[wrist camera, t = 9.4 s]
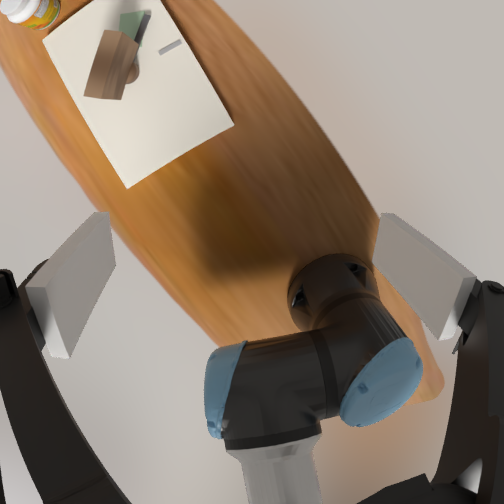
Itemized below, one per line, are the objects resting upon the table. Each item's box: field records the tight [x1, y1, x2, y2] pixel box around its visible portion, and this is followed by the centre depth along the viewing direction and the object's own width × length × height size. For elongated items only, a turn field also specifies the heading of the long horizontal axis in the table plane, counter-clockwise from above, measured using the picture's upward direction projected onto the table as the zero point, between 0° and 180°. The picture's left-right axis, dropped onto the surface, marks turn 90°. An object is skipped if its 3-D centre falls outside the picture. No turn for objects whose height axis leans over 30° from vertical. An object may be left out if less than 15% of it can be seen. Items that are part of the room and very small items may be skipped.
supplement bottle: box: [0, 0, 60, 30], centre depth 23 cm, size 5×5×10 cm
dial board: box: [42, 0, 234, 189], centre depth 33 cm, size 26×16×2 cm, turn 28°
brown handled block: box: [83, 14, 151, 100], centre depth 27 cm, size 12×3×10 cm, turn 162°
